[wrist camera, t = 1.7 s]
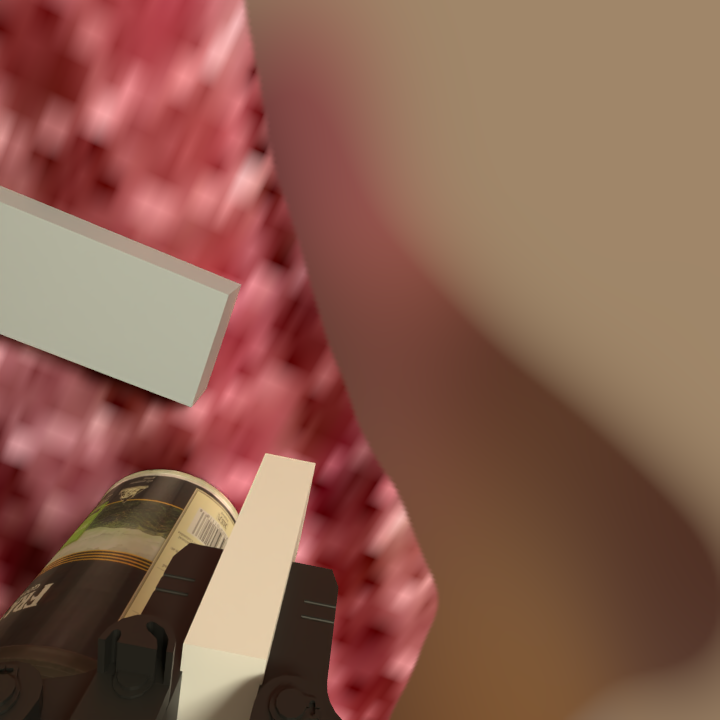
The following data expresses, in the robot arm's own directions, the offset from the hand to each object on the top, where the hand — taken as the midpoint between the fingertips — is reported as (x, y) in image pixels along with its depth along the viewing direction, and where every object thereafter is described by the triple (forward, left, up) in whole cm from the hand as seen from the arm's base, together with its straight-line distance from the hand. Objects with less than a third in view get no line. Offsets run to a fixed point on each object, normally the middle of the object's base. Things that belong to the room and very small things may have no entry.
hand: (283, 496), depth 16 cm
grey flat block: (-13, 0, -16) cm, 21 cm away
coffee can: (-8, -16, -16) cm, 24 cm away
